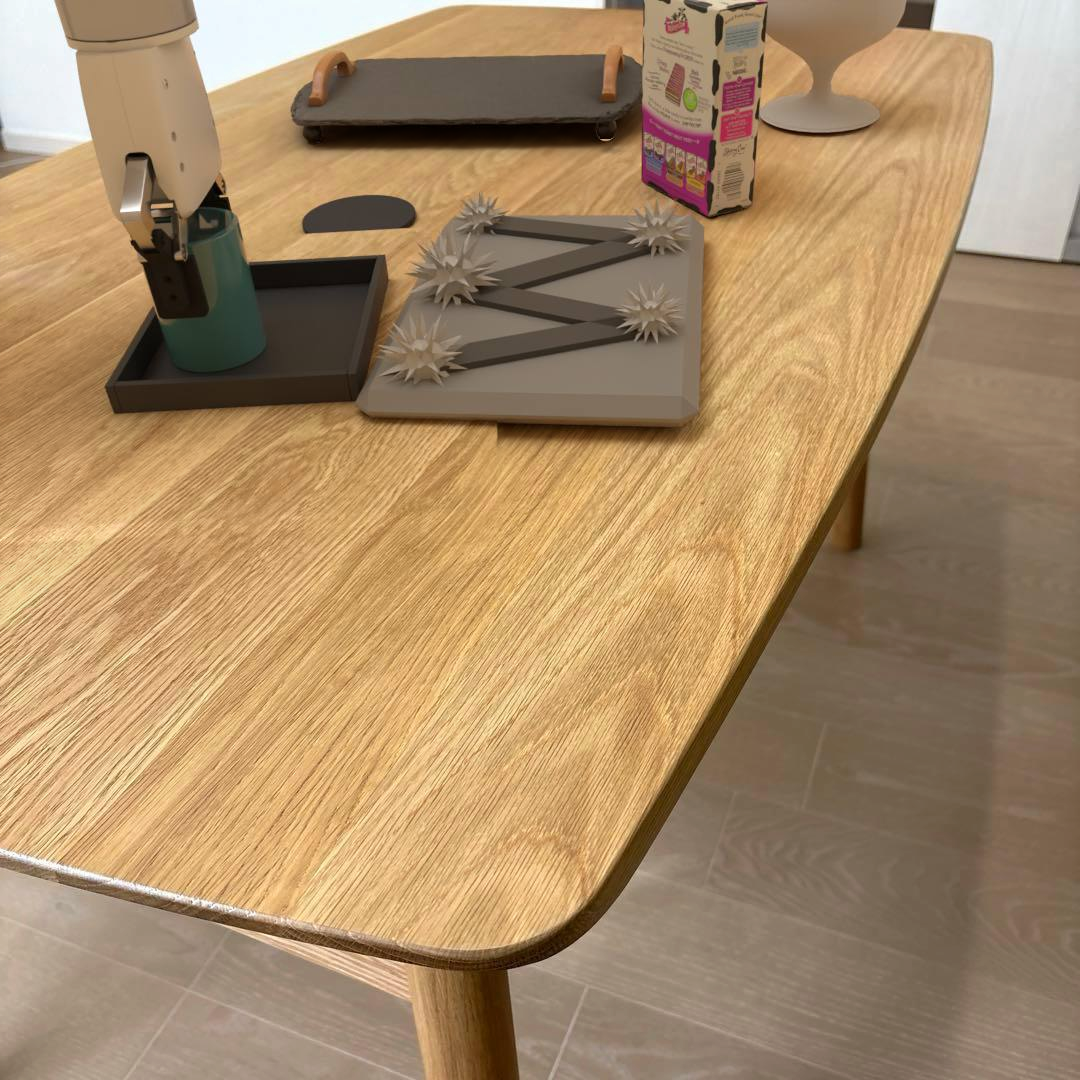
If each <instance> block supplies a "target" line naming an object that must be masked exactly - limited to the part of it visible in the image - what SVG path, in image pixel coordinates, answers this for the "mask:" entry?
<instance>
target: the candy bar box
mask: <svg viewBox="0 0 1080 1080" xmlns="http://www.w3.org/2000/svg"><path fill="white" fill-rule="evenodd" d="M642 3H643V4H642V5H643V6H642V8H643V10H642V11H643V14H642V16H643V17H642V18H643V19H642V20H643V21H642V66H643V71H642V102H641V160H640V161H641V166H640V167H641V173H640V174H641V175H640V180H641V182H642V183H644V184H646V185H648V186H649V185H650V187H651V186H652V187H651V188H653V187H654V188H653V189H655V190H657V191H659V192H661V193H662V192H663V193H662V194H664V193H665V195H666V196H668V195H669V196H668V197H670V198H671V199H674V200H675V201H677V200H678V202H679V201H680V202H679V203H681V202H682V204H683V203H684V204H683V205H685V206H687V207H688V208H691V209H693V210H694V209H695V211H697V212H699V213H700V214H702V215H704V216H706V217H708V218H711V217H712V218H713V217H715V216H720V215H724V214H729V213H733V212H736V211H740V209H741V210H743V208H744V209H747V208H750V207H752V206H753V204H754V203H753V200H754V189H755V188H754V187H755V175H756V174H755V173H756V162H757V150H758V149H757V148H758V134H759V133H758V132H759V125H760V124H759V123H760V116H759V110H760V109H761V108H760V107H761V106H760V105H761V97H762V85H763V73H764V58H765V48H766V35H767V33H766V22H767V8H768V1H764V0H643V1H642ZM732 211H733V212H732Z"/></svg>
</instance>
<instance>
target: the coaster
mask: <svg viewBox="0 0 1080 1080" xmlns="http://www.w3.org/2000/svg"><path fill="white" fill-rule="evenodd" d="M302 218H303V219H302V222H301V225H302V226H301V227H302V230H303V232H304V234H306V235H311V234H326V233H328V234H329V233H346V232H363V231H382V230H399V229H401V230H402V229H409V228H410V227H411V226H412V225H413V224H414V223H415V221H416V218H417V212H416V209H415V207H414V205H413V204H412V203H411V202H409V201H408V200H406V199H403V198H401V197H398V196H393V195H385V194H384V195H383V194H363V195H352V196H347V197H342V198H337V199H334V200H330V201H327V202H325V203H322V204H320V205H318V206H316V207H314V208H313V209H311V210H309V211H308V212H307V213H306V214H305V215H304V217H302Z"/></svg>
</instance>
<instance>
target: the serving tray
mask: <svg viewBox="0 0 1080 1080" xmlns="http://www.w3.org/2000/svg"><path fill="white" fill-rule="evenodd" d="M642 71H643V64H641V63H640V62H637V61H636V59H635V58H634V57H632V56H630V55H626V54H624V52H623V47H622V46H621V44H620V45H619V44H614V45H610V46H608V48H607V51H606V53H605V54H604V53H599V54H596V53H587V54H554V55H553V54H543V55H497V56H496V55H495V56H494V55H492V56H491V55H488V56H486V55H485V56H450V57H447V56H446V57H439V56H438V57H403V58H402V57H401V58H398V57H397V58H396V57H384V58H362V59H356V60H350V59H349V57H348V56H347V54H346V53H345V52H344V51H342V50H332V51H329V52H327V53H325V54H324V55H323V56H322V57H321V59H319V61H318V62H317V64H316V66H315V67H314V71H313V75H312V80H311V81H309V82H308V83H306V84H304V85H303V86H302V87H301V88H300V89H299V90H298V91H297V93H296V95H295V96H294V98H293V101H292V103H291V106H290V115H291V118H292V119H291V121H292V122H293V123H294V124H295V125H296V126H299V127H302V130H301V132H302V136H303V138H304V139H305V141H306V142H307V144H309V145H315V144H318V143H317V142H319V143H321V142H322V138H323V135H324V130H323V126H403V125H406V126H407V125H427V126H429V125H431V126H443V125H444V126H461V125H523V124H527V125H528V124H596V125H595V133H596V136H597V137H598V138H600V139H611V138H613V139H612V140H610V141H609V142H611V141H613V140H614V137H615V136H616V135H617V131H618V128H617V123H616V121H617V120H620V119H621V118H622V117H624V116H625V115H627V114H630V112H632V111H633V110H634V109H636V108H637V107H638V106H639V105H640V104H642ZM600 139H599V141H601V142H603V141H602V140H600ZM312 143H313V144H312Z"/></svg>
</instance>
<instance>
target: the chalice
mask: <svg viewBox="0 0 1080 1080" xmlns="http://www.w3.org/2000/svg"><path fill="white" fill-rule="evenodd" d="M764 1H768V8H767V22H766V35H767V36H768V37H769V38H770V39H772V41H774V42H776V43H778V44H779V45H781V46H783V47H784V48H786V49H787V50H788V51H790V52H792V53H794V54H795V55H796V56H798V57H799V58H800V59H802V60H803V61H804V62H805V63H806V65H808V67H809V70H810V72H811V75H812V85H811V89H810V90H809V91H808V92H807V93H795V94H790V95H785V96H780V97H776V98H774V99H772V100H769V101H768V102H766V103H765V104H763V106H760V107H761V108H759V118H760V119H761V120H762V121H764V123H765V122H766V123H767V124H769V125H771V126H774V127H777V128H780V129H784V130H789V131H795V132H805V133H836V132H837V133H839V132H847V131H852V130H857V129H861V128H864V127H867V126H870V125H872V124H874V123H875V122H877V121H878V120H879V118H880V116H881V112H880V110H879V109H878V108H877V106H875V105H874V104H873V103H872V102H870V101H869V100H865V99H863V98H860V97H856V96H852V95H847V94H839V93H834V91H833V90H832V80H833V77H834V74H835V73H836V72H837V70H838V68H840V66H841V65H842V64H843V63H844V62H845V61H846V60H848V59H849V58H851V57H853V56H854V55H856V54H858V53H860V52H862V51H864V50H865V49H868V48H869V47H871V46H873V45H875V44H877V43H879V42H881V41H882V40H884V39H885V38H886V37H888V36H889V35H890V34H892V32H893V31H894V30H895V29H896V28H897V26H898V25H899V23H900V21H901V19H902V18H903V16H904V13H905V12H906V11H905V10H906V5H907V0H764Z"/></svg>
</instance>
